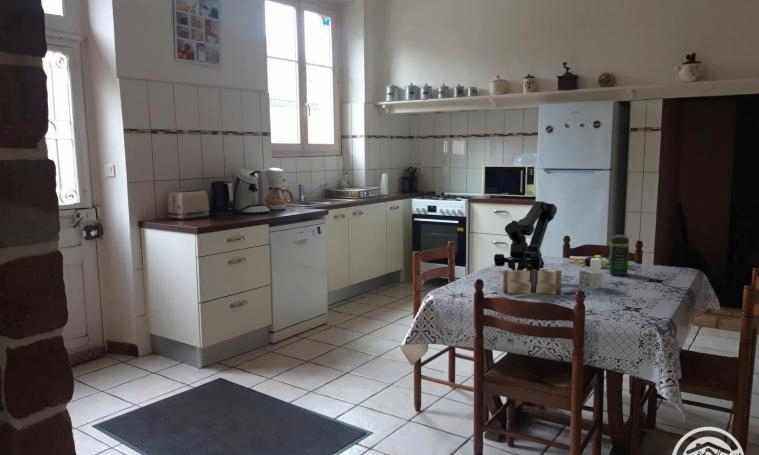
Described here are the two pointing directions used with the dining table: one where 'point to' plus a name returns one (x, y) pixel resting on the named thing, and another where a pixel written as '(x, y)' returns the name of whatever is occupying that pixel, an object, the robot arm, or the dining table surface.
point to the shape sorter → (604, 263)
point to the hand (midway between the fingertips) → (515, 277)
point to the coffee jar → (619, 255)
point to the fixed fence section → (549, 282)
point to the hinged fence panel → (519, 281)
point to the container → (592, 274)
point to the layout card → (524, 294)
